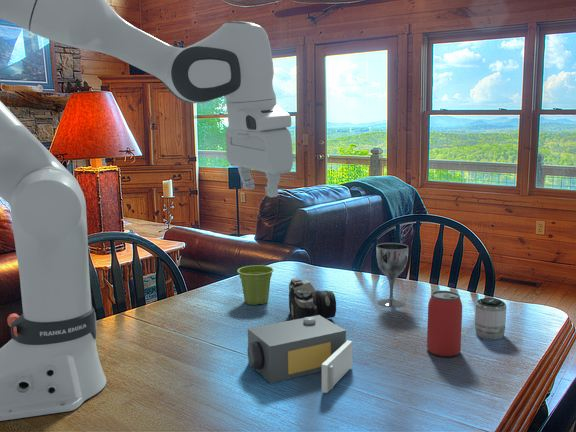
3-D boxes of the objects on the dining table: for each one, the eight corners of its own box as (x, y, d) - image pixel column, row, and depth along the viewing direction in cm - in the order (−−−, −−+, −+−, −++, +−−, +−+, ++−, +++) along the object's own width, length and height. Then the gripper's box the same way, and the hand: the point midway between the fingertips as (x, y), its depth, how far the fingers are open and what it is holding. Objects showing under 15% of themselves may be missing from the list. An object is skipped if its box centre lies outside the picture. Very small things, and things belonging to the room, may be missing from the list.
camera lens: (509, 334, 123) (511, 299, 122) (497, 342, 119) (499, 306, 118) (481, 327, 128) (483, 294, 126) (469, 335, 123) (470, 300, 122)
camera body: (265, 385, 101) (264, 343, 99) (242, 364, 110) (241, 325, 108) (346, 365, 108) (346, 326, 107) (319, 347, 117) (319, 311, 116)
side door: (330, 393, 97) (330, 366, 96) (321, 391, 97) (321, 364, 96) (355, 366, 107) (355, 341, 106) (347, 365, 108) (347, 340, 107)
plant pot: (231, 305, 145) (230, 272, 144) (248, 294, 154) (247, 263, 152) (264, 309, 142) (264, 275, 140) (279, 298, 150) (279, 266, 149)
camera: (342, 332, 126) (343, 289, 124) (297, 335, 124) (297, 291, 123) (325, 309, 141) (325, 270, 140) (285, 312, 140) (284, 273, 138)
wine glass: (411, 301, 147) (412, 244, 144) (400, 309, 140) (401, 250, 138) (382, 296, 151) (383, 241, 148) (370, 304, 144) (371, 247, 142)
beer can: (455, 360, 110) (457, 301, 108) (422, 353, 114) (424, 296, 112) (464, 349, 116) (466, 292, 114) (432, 342, 119) (434, 287, 117)
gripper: (214, 117, 108) (222, 187, 112) (262, 121, 91) (270, 204, 94) (243, 113, 111) (250, 182, 115) (296, 116, 94) (302, 197, 97)
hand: (260, 192), depth 104 cm, fingers open, 8 cm apart
